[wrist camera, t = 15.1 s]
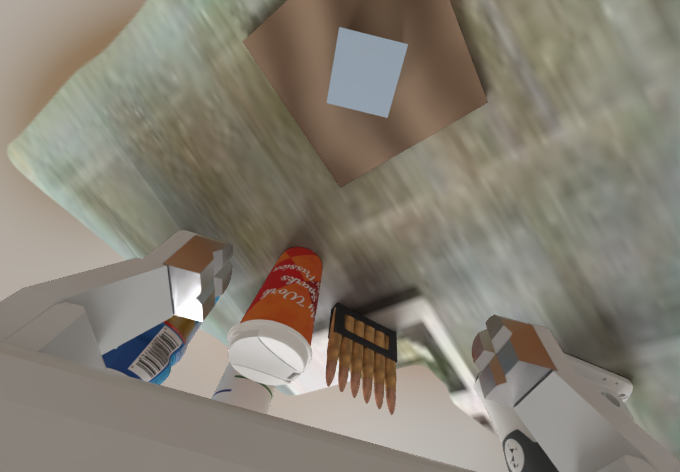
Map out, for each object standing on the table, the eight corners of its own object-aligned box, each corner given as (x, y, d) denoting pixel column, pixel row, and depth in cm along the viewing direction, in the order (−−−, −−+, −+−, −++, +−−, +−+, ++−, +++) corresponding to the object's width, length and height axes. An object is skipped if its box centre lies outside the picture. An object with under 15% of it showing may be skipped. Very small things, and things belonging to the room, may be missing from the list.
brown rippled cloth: (406, -105, 21) (407, -113, 20) (484, 101, 27) (487, 102, 26) (246, 42, 27) (242, 41, 26) (341, 184, 33) (340, 187, 32)
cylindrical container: (241, 315, 46) (126, 534, 25) (280, 307, 44) (192, 537, 23) (262, 344, 49) (176, 560, 28) (299, 338, 47) (238, 564, 26)
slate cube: (402, 46, 25) (408, 44, 20) (385, 108, 27) (387, 117, 23) (345, 32, 25) (339, 27, 20) (334, 96, 27) (326, 102, 23)
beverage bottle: (221, 309, 46) (130, 457, 29) (168, 294, 45) (44, 435, 28) (225, 270, 41) (120, 417, 24) (167, 252, 41) (18, 390, 24)
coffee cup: (343, 262, 38) (327, 363, 26) (309, 296, 42) (280, 398, 30) (290, 227, 36) (244, 317, 24) (259, 266, 40) (206, 361, 28)
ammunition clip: (331, 309, 43) (317, 386, 33) (337, 302, 42) (325, 379, 32) (389, 339, 45) (393, 420, 35) (396, 333, 44) (403, 414, 34)
